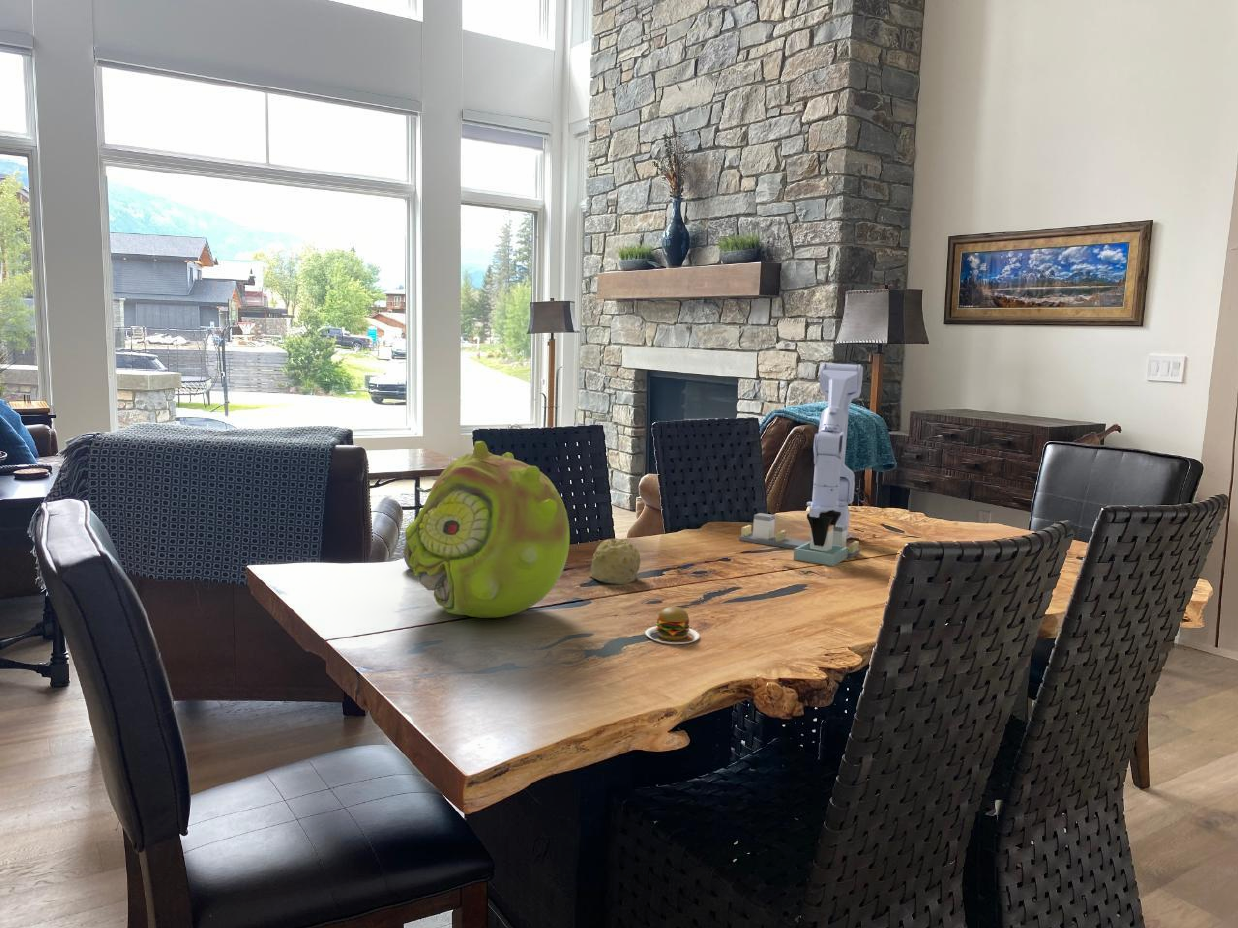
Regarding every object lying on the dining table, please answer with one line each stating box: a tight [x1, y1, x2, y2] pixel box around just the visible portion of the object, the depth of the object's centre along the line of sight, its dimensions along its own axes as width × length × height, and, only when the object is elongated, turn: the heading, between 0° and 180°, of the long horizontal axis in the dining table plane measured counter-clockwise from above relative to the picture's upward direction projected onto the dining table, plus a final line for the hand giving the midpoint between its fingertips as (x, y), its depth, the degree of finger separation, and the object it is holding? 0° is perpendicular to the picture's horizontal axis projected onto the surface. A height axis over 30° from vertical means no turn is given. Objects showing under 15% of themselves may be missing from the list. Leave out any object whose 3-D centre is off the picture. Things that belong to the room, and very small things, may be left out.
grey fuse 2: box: [832, 524, 847, 547], centre depth 223 cm, size 4×4×6 cm
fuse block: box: [738, 524, 861, 559], centre depth 227 cm, size 6×28×3 cm, turn 59°
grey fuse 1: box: [752, 512, 776, 540], centre depth 232 cm, size 4×4×6 cm
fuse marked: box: [809, 524, 834, 551], centre depth 216 cm, size 4×4×6 cm
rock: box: [589, 538, 641, 585], centre depth 191 cm, size 10×11×10 cm
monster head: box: [404, 440, 571, 619], centre depth 161 cm, size 31×28×30 cm
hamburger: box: [644, 606, 700, 645], centre depth 155 cm, size 12×12×6 cm
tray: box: [793, 540, 849, 567], centre depth 216 cm, size 10×9×2 cm
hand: (821, 544), depth 216 cm, fingers closed on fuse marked, 3 cm apart
